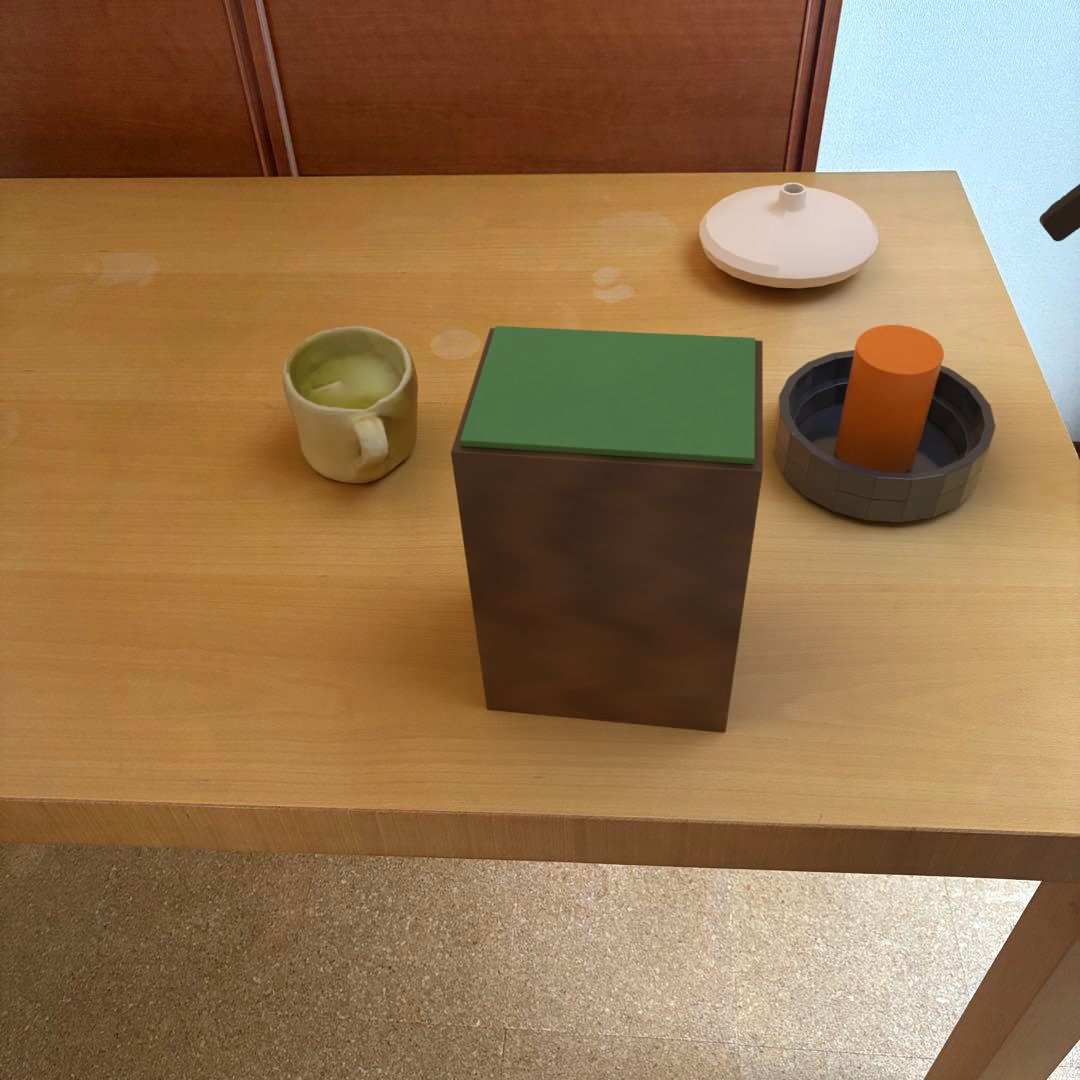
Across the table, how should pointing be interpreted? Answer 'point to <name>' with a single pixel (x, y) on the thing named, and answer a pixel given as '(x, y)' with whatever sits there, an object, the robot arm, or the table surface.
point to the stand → (608, 578)
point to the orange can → (888, 397)
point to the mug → (353, 402)
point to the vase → (788, 236)
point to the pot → (921, 492)
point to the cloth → (616, 395)
